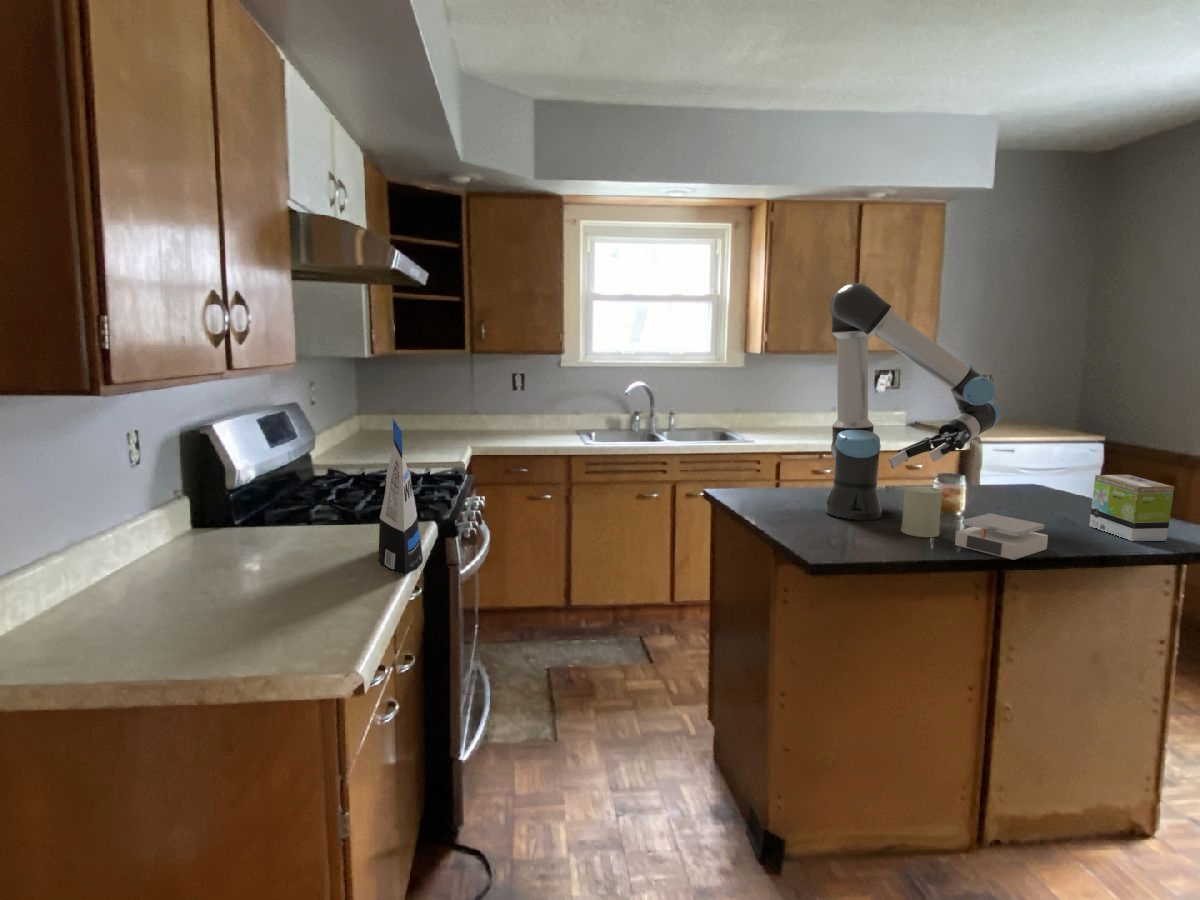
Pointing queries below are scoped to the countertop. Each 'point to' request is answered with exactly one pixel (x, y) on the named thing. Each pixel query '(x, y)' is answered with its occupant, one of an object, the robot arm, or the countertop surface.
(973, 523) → the scale pan
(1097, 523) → the tea box
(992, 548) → the scale
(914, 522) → the can
